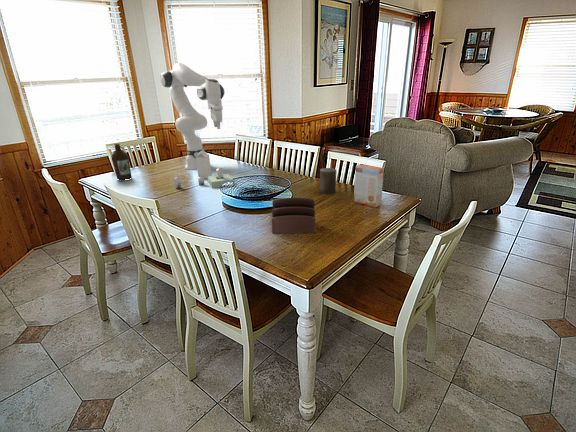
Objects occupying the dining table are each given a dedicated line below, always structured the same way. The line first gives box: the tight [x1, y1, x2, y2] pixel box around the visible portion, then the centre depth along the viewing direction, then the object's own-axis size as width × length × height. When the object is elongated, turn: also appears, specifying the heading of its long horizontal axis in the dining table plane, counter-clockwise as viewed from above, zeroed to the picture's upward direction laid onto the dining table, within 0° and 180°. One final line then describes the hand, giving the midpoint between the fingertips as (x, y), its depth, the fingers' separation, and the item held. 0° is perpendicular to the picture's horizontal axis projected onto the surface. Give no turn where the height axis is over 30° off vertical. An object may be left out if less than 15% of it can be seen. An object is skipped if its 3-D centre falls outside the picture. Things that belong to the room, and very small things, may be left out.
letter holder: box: [271, 197, 317, 234], centre depth 157 cm, size 10×20×14 cm, turn 89°
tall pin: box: [216, 167, 224, 179], centre depth 224 cm, size 4×4×10 cm
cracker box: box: [353, 163, 385, 209], centre depth 183 cm, size 14×6×21 cm, turn 45°
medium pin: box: [173, 176, 182, 190], centre depth 218 cm, size 4×4×7 cm
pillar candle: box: [319, 167, 337, 195], centre depth 204 cm, size 10×10×15 cm
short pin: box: [197, 177, 205, 187], centre depth 224 cm, size 4×4×5 cm
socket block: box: [207, 173, 234, 189], centre depth 225 cm, size 14×14×4 cm
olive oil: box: [111, 142, 133, 180], centre depth 235 cm, size 11×11×25 cm
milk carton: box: [196, 148, 212, 179], centre depth 237 cm, size 7×7×19 cm
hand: (217, 127), depth 226 cm, fingers open, 8 cm apart
